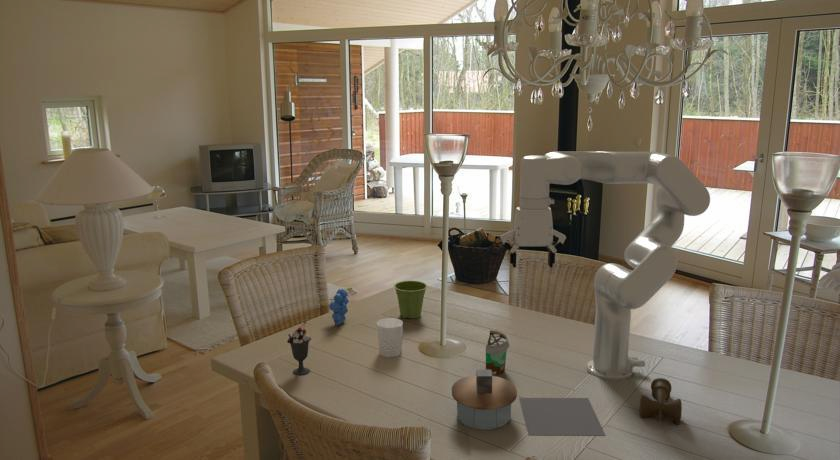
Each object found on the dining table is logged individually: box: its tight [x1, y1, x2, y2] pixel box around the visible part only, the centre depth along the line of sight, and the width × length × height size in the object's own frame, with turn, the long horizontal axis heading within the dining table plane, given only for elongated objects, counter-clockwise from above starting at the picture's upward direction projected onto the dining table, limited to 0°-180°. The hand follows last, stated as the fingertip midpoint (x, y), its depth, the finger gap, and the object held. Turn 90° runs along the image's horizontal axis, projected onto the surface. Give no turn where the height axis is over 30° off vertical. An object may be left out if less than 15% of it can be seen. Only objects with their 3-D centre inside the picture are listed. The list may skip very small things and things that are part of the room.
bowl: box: [456, 401, 512, 430], centre depth 158 cm, size 13×13×6 cm
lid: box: [451, 369, 518, 410], centre depth 157 cm, size 16×16×6 cm
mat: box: [519, 397, 606, 437], centre depth 159 cm, size 18×18×1 cm
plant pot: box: [393, 280, 428, 320], centre depth 227 cm, size 12×12×11 cm
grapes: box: [328, 288, 350, 326], centre depth 221 cm, size 12×7×12 cm, turn 167°
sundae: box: [287, 321, 312, 377], centre depth 183 cm, size 7×7×15 cm
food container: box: [485, 330, 510, 376], centre depth 183 cm, size 12×6×10 cm, turn 168°
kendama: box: [639, 377, 683, 425], centre depth 160 cm, size 6×10×20 cm
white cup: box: [376, 317, 404, 358], centre depth 196 cm, size 8×8×10 cm
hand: (532, 266), depth 170 cm, fingers open, 9 cm apart
